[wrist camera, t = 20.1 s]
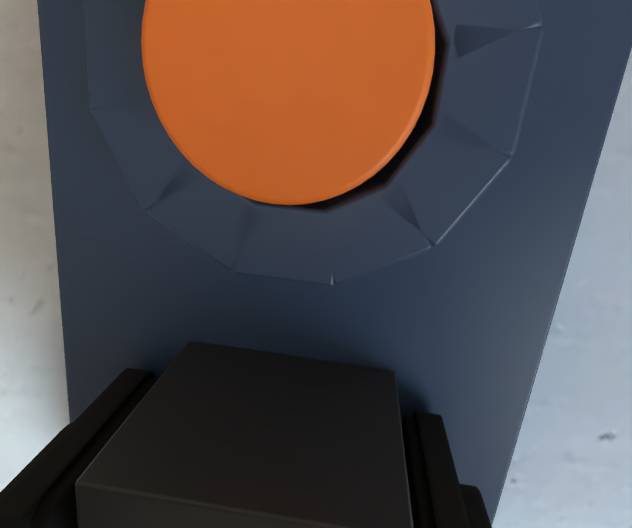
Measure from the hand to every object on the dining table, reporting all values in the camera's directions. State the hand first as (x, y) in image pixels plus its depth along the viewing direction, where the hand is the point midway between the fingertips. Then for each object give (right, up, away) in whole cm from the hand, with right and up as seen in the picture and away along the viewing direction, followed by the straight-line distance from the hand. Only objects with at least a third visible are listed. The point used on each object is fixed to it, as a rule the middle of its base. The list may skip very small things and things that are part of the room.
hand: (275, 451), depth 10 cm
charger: (0, 0, 0) cm, 0 cm away
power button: (+1, +7, -3) cm, 8 cm away
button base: (+1, +4, +1) cm, 4 cm away
